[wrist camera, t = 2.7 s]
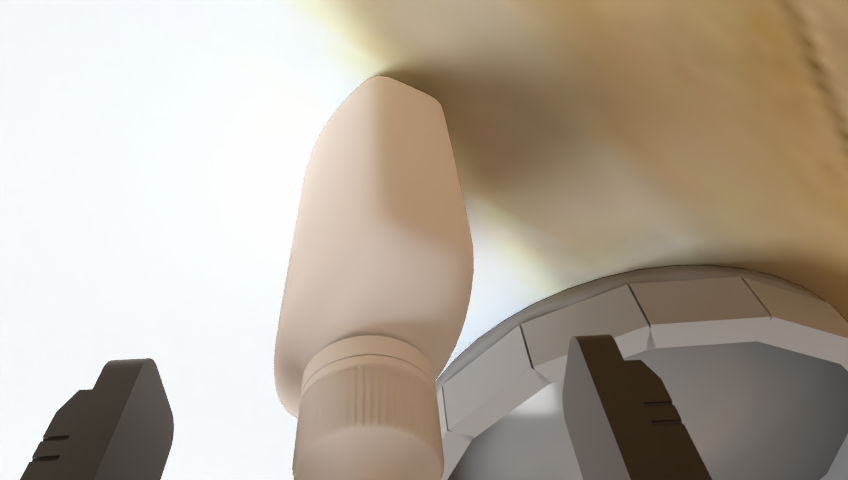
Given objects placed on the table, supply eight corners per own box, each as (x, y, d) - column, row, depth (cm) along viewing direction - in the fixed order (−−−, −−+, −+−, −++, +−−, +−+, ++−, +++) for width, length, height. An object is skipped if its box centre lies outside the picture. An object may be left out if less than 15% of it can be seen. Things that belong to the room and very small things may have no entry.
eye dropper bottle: (489, 166, 19) (613, 549, 10) (341, 258, 21) (315, 673, 11) (404, 47, 17) (450, 386, 7) (245, 161, 19) (107, 567, 9)
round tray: (395, 283, 22) (398, 341, 19) (946, 248, 22) (1012, 300, 20) (415, 584, 32) (418, 645, 30) (787, 553, 33) (819, 610, 31)
